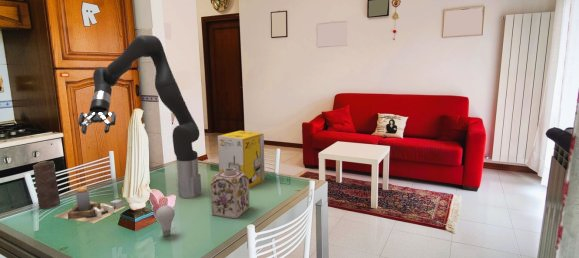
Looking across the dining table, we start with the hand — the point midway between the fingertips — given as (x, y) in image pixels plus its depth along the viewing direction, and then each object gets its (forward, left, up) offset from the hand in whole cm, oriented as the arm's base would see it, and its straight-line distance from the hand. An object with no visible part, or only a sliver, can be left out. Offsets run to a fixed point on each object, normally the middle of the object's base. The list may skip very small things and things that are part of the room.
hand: (94, 132), depth 146 cm
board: (-7, +12, -31) cm, 34 cm away
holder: (-6, +14, -30) cm, 34 cm away
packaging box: (-49, -40, -31) cm, 71 cm away
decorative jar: (-60, -6, -31) cm, 68 cm away
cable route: (-14, +11, -30) cm, 35 cm away
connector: (-6, +14, -30) cm, 33 cm away
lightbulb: (-48, +19, -31) cm, 60 cm away
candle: (+15, +13, -31) cm, 37 cm away
